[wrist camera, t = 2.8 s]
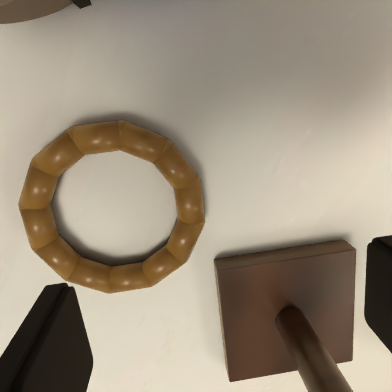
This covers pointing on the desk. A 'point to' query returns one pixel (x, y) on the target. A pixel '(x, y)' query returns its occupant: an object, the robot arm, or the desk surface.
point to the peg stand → (289, 313)
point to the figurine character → (33, 9)
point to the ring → (97, 143)
